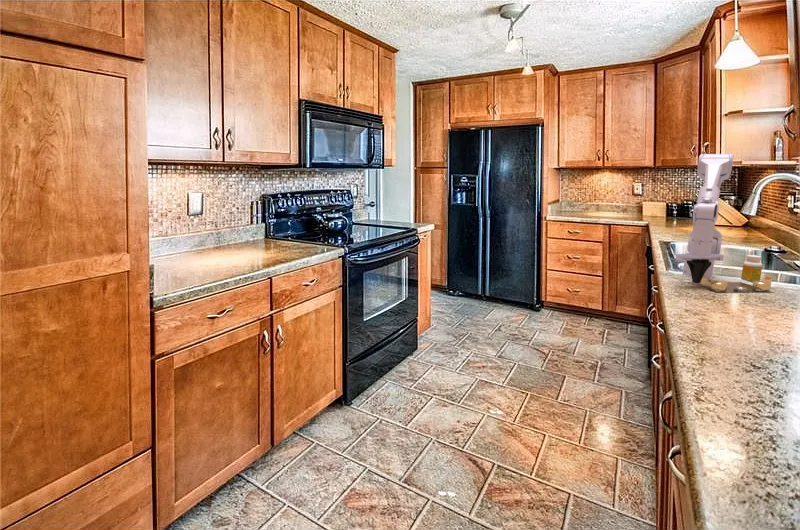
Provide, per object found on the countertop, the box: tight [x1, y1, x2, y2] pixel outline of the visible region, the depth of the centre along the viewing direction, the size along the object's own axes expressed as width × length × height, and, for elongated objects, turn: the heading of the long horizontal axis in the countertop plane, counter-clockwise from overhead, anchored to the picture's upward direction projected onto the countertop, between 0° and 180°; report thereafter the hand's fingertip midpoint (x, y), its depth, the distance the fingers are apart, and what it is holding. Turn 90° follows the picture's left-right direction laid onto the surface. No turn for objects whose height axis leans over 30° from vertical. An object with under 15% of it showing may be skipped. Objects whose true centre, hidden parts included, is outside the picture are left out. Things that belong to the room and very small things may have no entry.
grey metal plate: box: [687, 281, 775, 294], centre depth 155 cm, size 14×19×3 cm
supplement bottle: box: [740, 254, 763, 284], centre depth 166 cm, size 5×5×10 cm
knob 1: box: [698, 275, 728, 292], centre depth 153 cm, size 11×4×3 cm, turn 3°
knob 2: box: [752, 276, 773, 292], centre depth 153 cm, size 11×4×3 cm, turn 131°
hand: (696, 282), depth 155 cm, fingers closed
